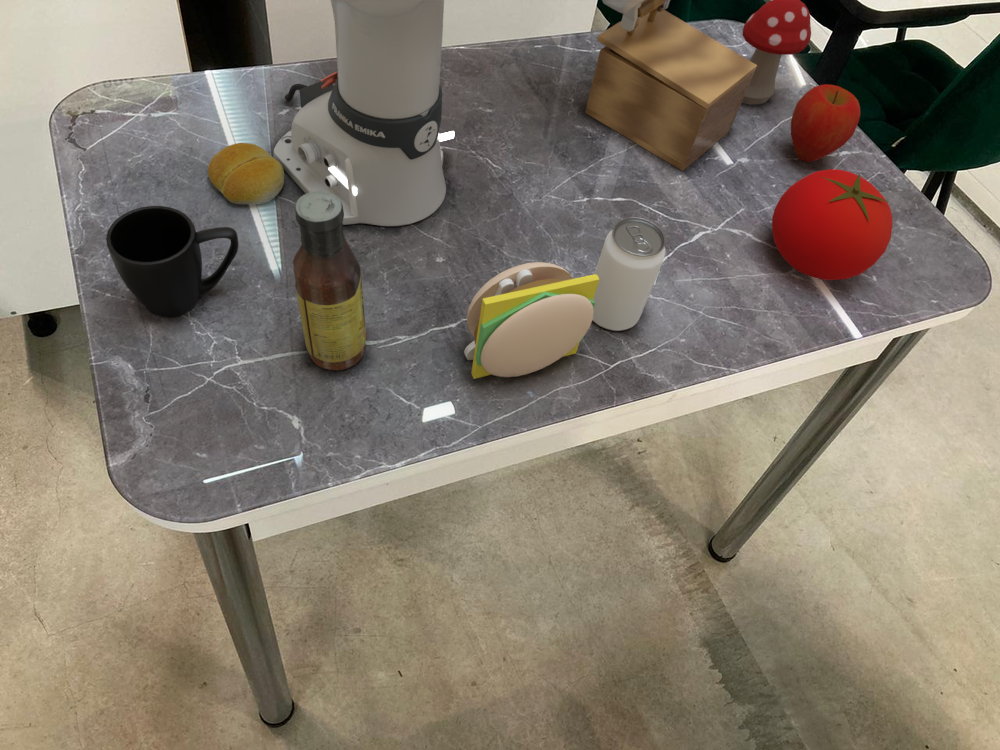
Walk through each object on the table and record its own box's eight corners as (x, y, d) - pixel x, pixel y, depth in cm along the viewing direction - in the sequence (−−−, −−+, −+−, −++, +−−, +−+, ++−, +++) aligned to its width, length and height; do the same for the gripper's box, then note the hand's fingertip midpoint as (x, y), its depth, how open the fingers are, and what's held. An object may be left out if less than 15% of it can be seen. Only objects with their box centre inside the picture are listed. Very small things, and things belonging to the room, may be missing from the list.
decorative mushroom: (763, 74, 124) (804, -20, 112) (792, 108, 120) (838, 14, 108) (708, 81, 122) (744, -15, 109) (736, 116, 117) (776, 20, 105)
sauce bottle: (378, 351, 84) (377, 210, 68) (333, 384, 81) (320, 245, 65) (336, 316, 87) (325, 172, 71) (291, 347, 83) (269, 204, 67)
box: (584, 112, 113) (599, 49, 105) (634, 78, 120) (652, 16, 112) (682, 171, 108) (706, 109, 100) (729, 132, 115) (755, 70, 107)
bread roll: (241, 218, 93) (236, 192, 90) (200, 176, 97) (193, 149, 93) (300, 190, 97) (297, 164, 94) (258, 150, 101) (254, 124, 97)
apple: (831, 144, 116) (867, 78, 107) (837, 182, 111) (876, 116, 102) (773, 133, 116) (805, 66, 107) (777, 170, 111) (810, 104, 102)
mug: (250, 319, 85) (237, 257, 77) (130, 332, 82) (103, 268, 74) (245, 263, 89) (233, 199, 82) (131, 273, 87) (106, 208, 79)
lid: (596, 40, 105) (606, 6, 101) (649, 7, 111) (660, -26, 107) (706, 109, 100) (721, 76, 96) (755, 70, 107) (770, 38, 103)
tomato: (765, 209, 105) (802, 137, 96) (866, 242, 104) (914, 172, 95) (751, 274, 98) (790, 203, 89) (860, 310, 97) (912, 241, 87)
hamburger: (554, 312, 91) (574, 236, 81) (584, 369, 86) (609, 296, 77) (454, 335, 87) (463, 258, 77) (481, 395, 83) (494, 322, 73)
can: (595, 336, 89) (621, 262, 79) (577, 293, 93) (599, 217, 83) (648, 328, 91) (679, 254, 81) (628, 286, 94) (656, 211, 85)
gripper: (697, -124, 101) (665, -18, 112) (605, -79, 90) (580, 34, 101) (740, -105, 99) (703, 2, 110) (651, -56, 88) (620, 57, 99)
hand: (643, 18), depth 106 cm, fingers closed on lid, 6 cm apart
